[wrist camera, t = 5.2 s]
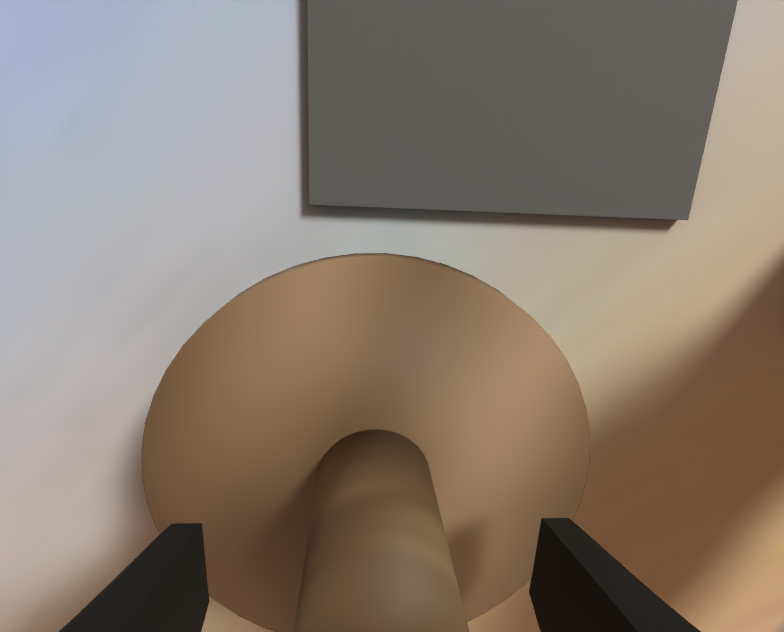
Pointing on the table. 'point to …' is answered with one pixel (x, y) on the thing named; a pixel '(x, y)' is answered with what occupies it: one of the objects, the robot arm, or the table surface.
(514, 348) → the lid
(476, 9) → the mat
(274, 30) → the table surface
